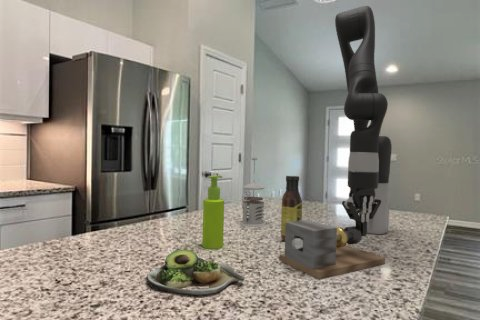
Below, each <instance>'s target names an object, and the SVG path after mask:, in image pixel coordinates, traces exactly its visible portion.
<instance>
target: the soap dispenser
mask: <svg viewBox="0 0 480 320" xmlns="http://www.w3.org/2000/svg"><path fill="white" fill-rule="evenodd" d="M222 178H223V176H222V175H220V174H212V175H210V176H209V177H208V179H210V180H211V181H210V186H209V187H207V198H204V199H203V200H202V205H203V206H202V236H201V237H202V244H201V245H202V248H204V249H207V250H218V249H221V248H223V247H224V228H225V227H224V223H225V222H224V220H225V219H224V218H225V200H224V199H223V198H220V197H221V188H220V187H219V186H218V179H222Z"/></svg>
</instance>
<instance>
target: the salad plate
mask: <svg viewBox="0 0 480 320" xmlns="http://www.w3.org/2000/svg"><path fill="white" fill-rule="evenodd" d="M245 280H246V277H245V276H243V275H241V274H238V273H237V272H236V270H235V268H233V266H232V265H229V264H225V263H218V262H215V261H214V260H205V259H204V258H202V257H198V255H197V253H195V252H194V251H193V250H190V249H180V250H179V249H178V250H176V251H173V252H172V253H169V254H168V255H167V256H166V258H165V260H164V265H161V267H159V268H157V269H155V270H152V271H151V272H150V273H148V274H147V276H146V281H147V284H148V285H150V286H151V287H152V288H153V289H155V290H159V291H163V292H169V293H175V294H181V295H182V294H183V295H193V296H205V295H210V294H212V295H213V294H217V293H219V292H221V291H222V290H224V289H225V288H226V287H227V286H229V285H230V284H231V283H233V282H235V281H245ZM192 285H193V286H194V285H201V286H208V288H196V289H187V288H186V287H189V286H192ZM184 288H185V289H184Z"/></svg>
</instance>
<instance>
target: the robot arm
mask: <svg viewBox="0 0 480 320" xmlns="http://www.w3.org/2000/svg"><path fill="white" fill-rule="evenodd" d="M334 21H335V31H336V36H337V40H338V45H339V49H340V53H341V58H342V62H343V67H344V73H345V80H346V81H345V82H346V88H347V94H346V95H347V96H346V99H345V102H344V106H343V111H344V112H343V113H344V115H345V116H346V118H347V119H349V120H350V121H353V130H352V131H351V133H350V136H349V137H350V138H349V154H348V155H349V156H348V162H347V163H348V164H347V166H348V167H347V187H349V194H348V198H347V200H343V201H342V202H341V205H342V206H343V209H344V210H345V212H346V214H347V216H348V217H349V219H350V220H354V221H355V224H354V225H355V227H357V228H359V230H360V231H361V234H362V237H366V236H367V234H373V235H374V234H375V235H384V234H387V233H388V232H389V227H390V226H389V223H390V220H389V219H390V204H389V183H390V182H389V180H390V172H391V170H390V169H391V168H390V167H391V162H392V161H391V158H392V141H391V139H390V137H389V136H387V135H385V136H384V135H382V136H381V135H380V134H381V129H382V125H383V122H384V119H385V116H386V114H387V110H388V100H387V97H386V96H385V95H384V94H383V93H380V92H379V88H378V87H379V86H378V80H377V79H378V78H377V74H376V65H375V52H376V51H375V49H376V22H375V16H374V13H373V10H372V7H371V6H369V5H363V6H359V7H355V8H351V9H349V10H346V11H342V12H339V13H337V14H336V16H335V20H334ZM360 40H361V42H360V44H359V46H358V48H357V49H356V51H354V50H353V48H352V45H351V43H352V42H356V41H360ZM369 122H370V123H369Z"/></svg>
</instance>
